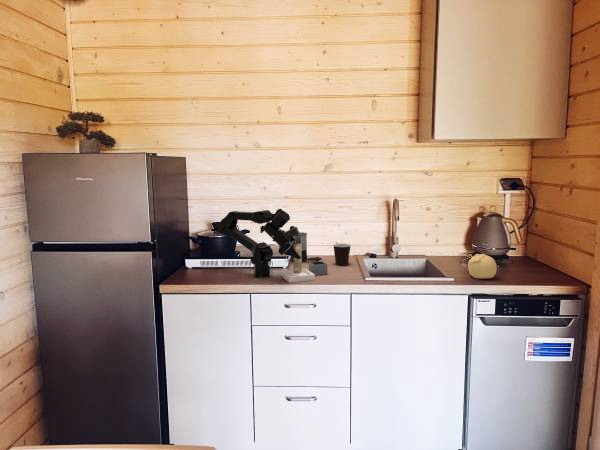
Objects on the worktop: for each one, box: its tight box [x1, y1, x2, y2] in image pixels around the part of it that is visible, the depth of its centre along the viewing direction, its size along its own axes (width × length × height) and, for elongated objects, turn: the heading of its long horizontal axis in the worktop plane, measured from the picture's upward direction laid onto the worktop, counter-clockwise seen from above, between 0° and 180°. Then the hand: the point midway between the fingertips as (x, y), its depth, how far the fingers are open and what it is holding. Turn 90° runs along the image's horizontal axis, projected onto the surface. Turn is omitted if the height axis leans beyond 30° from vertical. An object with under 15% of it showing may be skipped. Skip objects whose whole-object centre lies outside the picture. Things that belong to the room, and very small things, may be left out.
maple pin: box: [293, 244, 303, 274], centre depth 201 cm, size 4×4×13 cm
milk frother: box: [289, 231, 323, 263], centre depth 235 cm, size 14×16×15 cm
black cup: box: [333, 243, 351, 267], centre depth 228 cm, size 12×9×10 cm
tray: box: [280, 268, 316, 283], centre depth 202 cm, size 12×12×2 cm
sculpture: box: [467, 253, 498, 279], centre depth 199 cm, size 11×12×11 cm
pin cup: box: [308, 260, 328, 277], centre depth 210 cm, size 7×7×5 cm
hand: (300, 257), depth 201 cm, fingers closed on maple pin, 3 cm apart
